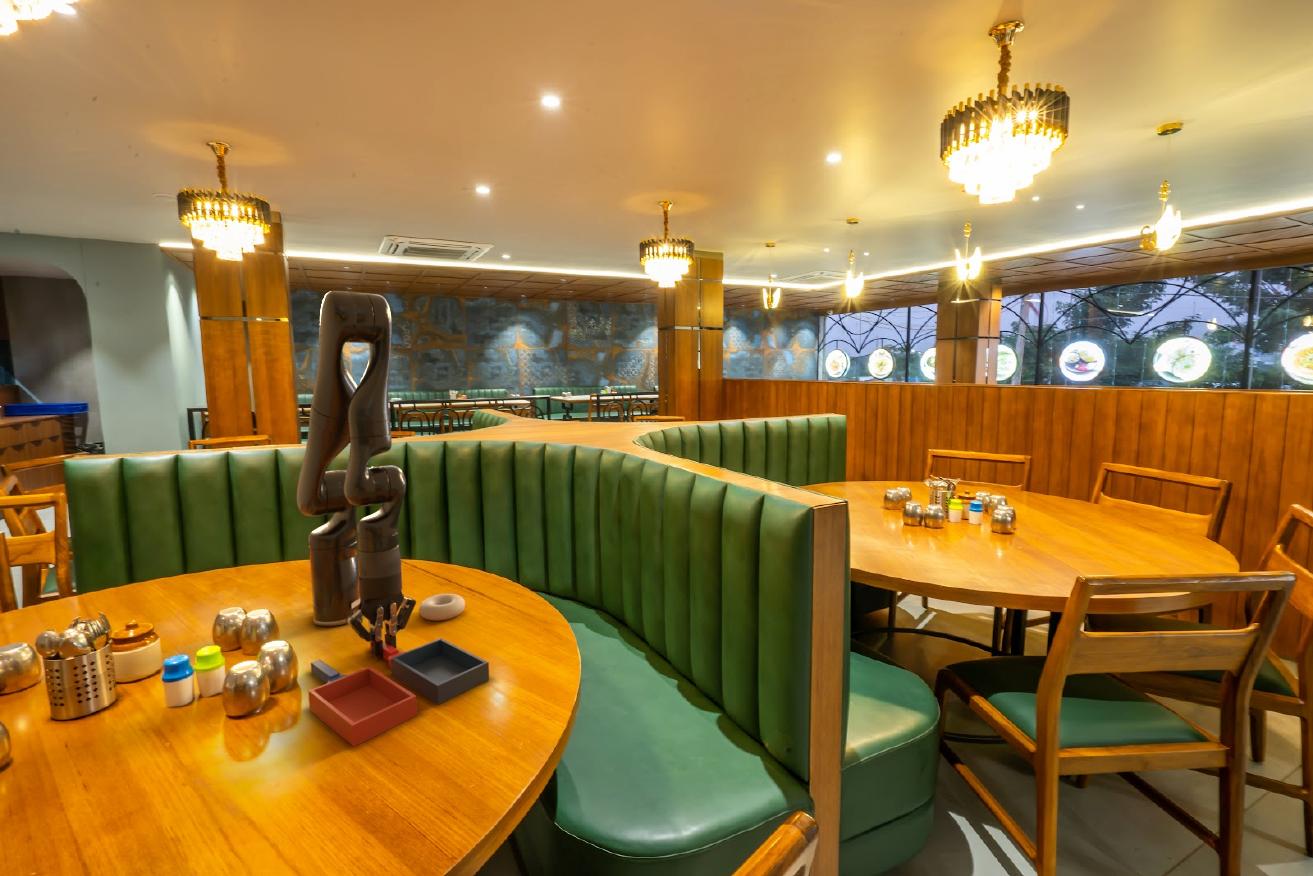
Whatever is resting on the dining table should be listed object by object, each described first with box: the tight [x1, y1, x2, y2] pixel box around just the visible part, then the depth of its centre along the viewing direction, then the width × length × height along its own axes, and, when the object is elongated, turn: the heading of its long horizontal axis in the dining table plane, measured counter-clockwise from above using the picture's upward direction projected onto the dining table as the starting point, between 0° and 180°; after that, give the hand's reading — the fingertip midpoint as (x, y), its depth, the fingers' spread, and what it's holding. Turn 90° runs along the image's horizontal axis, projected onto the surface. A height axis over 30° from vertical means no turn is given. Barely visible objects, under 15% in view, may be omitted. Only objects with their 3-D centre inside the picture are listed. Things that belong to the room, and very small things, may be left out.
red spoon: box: [369, 641, 406, 669], centre depth 115 cm, size 11×4×2 cm, turn 52°
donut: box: [418, 593, 466, 621], centre depth 135 cm, size 10×4×10 cm
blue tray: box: [390, 637, 490, 706], centre depth 108 cm, size 15×10×3 cm
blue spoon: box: [310, 659, 348, 684], centre depth 106 cm, size 11×4×2 cm, turn 52°
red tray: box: [307, 666, 418, 748], centre depth 97 cm, size 15×10×3 cm
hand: (384, 654), depth 116 cm, fingers closed on red spoon, 1 cm apart
